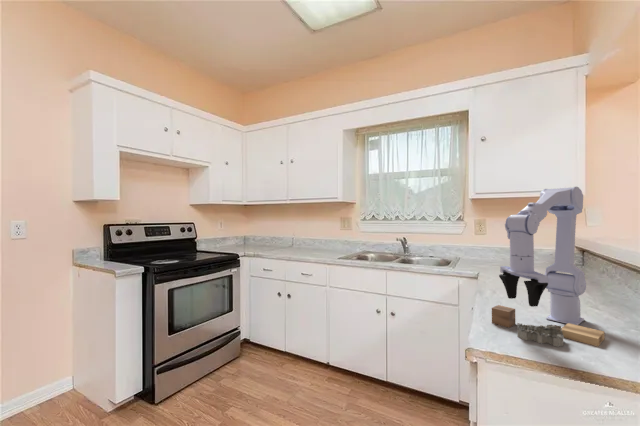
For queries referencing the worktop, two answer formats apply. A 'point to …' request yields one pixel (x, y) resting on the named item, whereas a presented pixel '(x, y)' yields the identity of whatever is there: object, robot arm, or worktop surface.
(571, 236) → the robot arm
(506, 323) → the walnut cube
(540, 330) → the egg carton
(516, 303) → the worktop surface
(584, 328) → the board
